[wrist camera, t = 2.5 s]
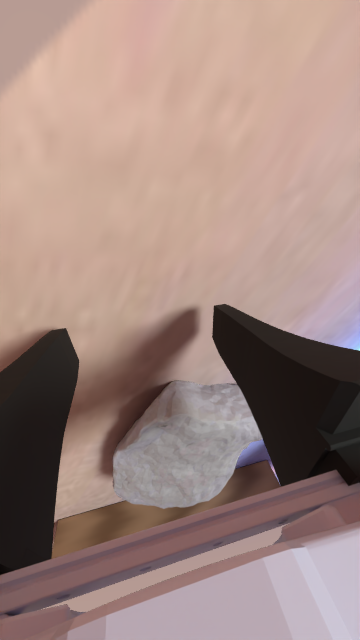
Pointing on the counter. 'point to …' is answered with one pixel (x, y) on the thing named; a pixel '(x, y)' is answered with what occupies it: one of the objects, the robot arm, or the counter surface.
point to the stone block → (184, 445)
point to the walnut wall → (153, 512)
